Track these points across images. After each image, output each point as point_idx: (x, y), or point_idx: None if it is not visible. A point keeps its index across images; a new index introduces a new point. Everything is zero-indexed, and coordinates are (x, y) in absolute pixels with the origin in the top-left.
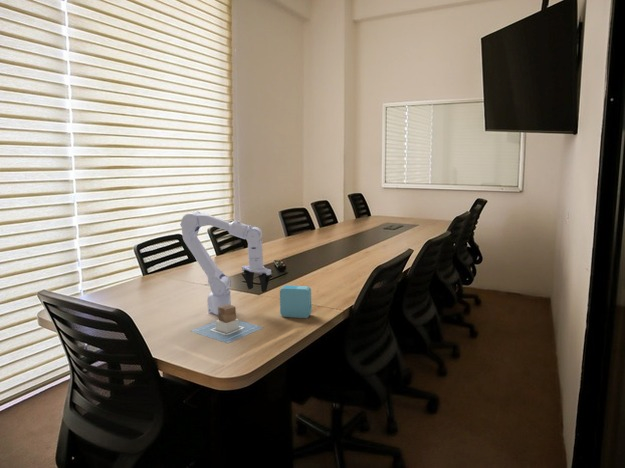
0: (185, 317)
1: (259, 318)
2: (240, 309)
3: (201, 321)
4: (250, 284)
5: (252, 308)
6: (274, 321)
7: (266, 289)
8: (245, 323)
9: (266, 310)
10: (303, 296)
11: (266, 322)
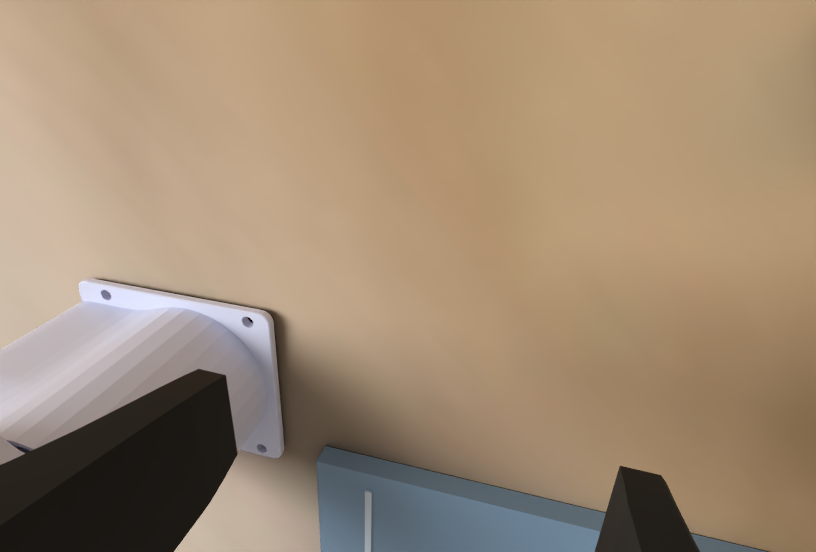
0: None
1: (574, 332)
2: (203, 186)
3: (215, 515)
4: (164, 495)
5: (274, 88)
6: (811, 350)
7: (675, 518)
8: (572, 542)
9: (475, 56)
10: None
11: (724, 402)
